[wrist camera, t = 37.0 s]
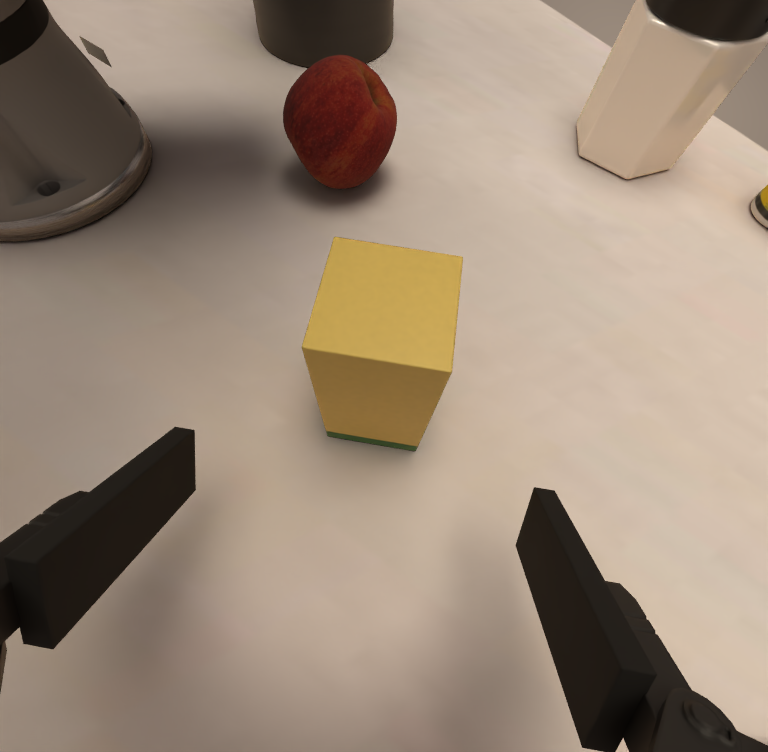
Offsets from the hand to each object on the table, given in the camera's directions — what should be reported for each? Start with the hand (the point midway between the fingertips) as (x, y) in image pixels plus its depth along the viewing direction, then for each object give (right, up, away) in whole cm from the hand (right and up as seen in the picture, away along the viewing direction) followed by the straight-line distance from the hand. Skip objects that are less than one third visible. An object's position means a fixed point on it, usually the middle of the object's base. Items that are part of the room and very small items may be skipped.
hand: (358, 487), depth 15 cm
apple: (-2, +20, +16) cm, 26 cm away
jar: (+22, +24, +19) cm, 38 cm away
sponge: (+1, +3, +8) cm, 8 cm away
